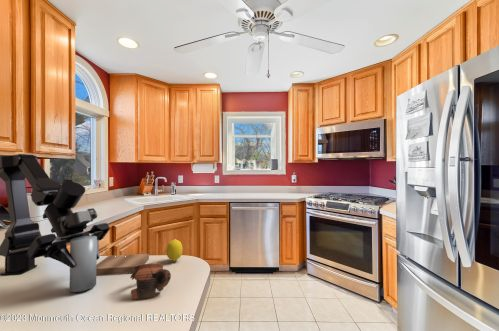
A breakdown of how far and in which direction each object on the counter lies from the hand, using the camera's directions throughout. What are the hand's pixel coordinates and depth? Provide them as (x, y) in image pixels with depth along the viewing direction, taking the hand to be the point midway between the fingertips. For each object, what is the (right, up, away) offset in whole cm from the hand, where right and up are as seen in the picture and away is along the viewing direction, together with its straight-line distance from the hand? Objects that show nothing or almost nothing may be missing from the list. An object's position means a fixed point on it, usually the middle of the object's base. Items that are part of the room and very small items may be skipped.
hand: (86, 262), depth 64 cm
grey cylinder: (-1, -7, 0) cm, 7 cm away
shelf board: (+1, -8, +16) cm, 18 cm away
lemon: (+18, -8, +20) cm, 28 cm away
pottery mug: (+18, -7, -1) cm, 20 cm away
